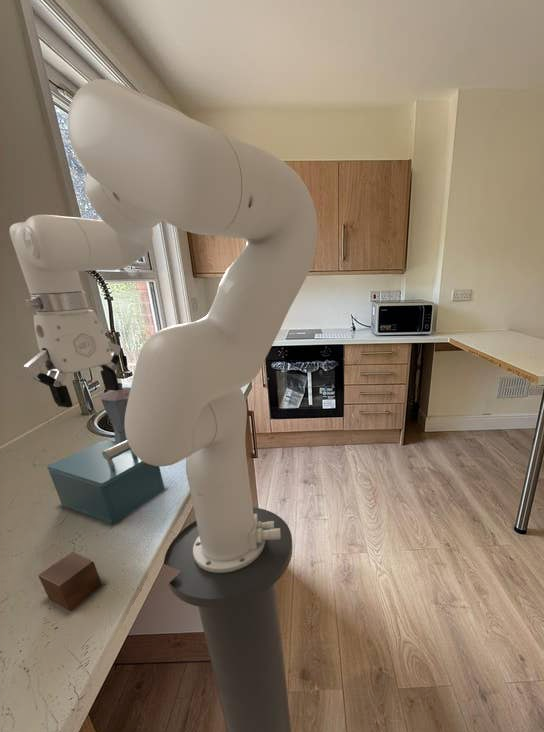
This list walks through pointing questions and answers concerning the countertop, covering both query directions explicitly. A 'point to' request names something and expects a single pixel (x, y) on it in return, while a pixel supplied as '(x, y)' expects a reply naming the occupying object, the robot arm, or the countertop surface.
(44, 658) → the countertop surface
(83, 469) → the bin lid
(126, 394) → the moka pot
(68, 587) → the block
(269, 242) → the robot arm
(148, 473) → the bin
